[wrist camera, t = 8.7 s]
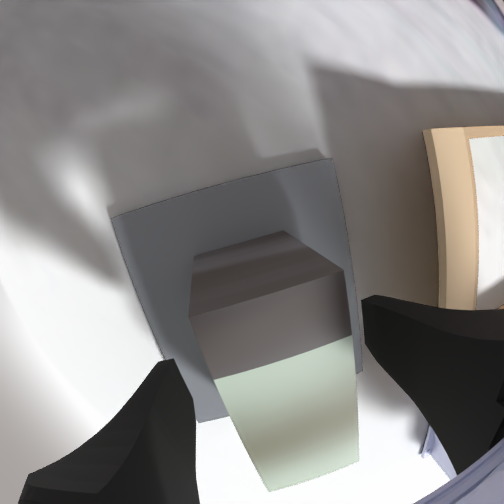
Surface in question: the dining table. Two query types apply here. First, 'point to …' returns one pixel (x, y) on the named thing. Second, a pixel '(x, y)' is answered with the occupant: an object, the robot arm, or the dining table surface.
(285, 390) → the box
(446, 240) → the carton
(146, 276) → the mat
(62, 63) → the dining table surface
